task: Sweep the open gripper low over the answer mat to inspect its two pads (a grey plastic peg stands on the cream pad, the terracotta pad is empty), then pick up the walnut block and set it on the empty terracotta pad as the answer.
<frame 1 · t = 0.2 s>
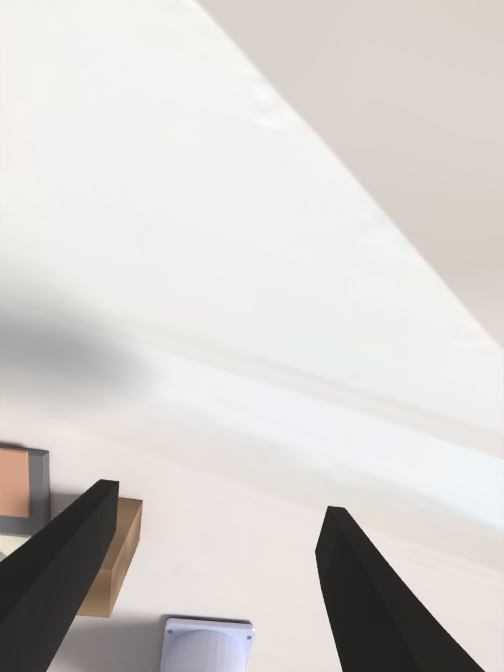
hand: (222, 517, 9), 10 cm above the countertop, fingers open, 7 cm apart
walnut block: (115, 517, 21), on the countertop
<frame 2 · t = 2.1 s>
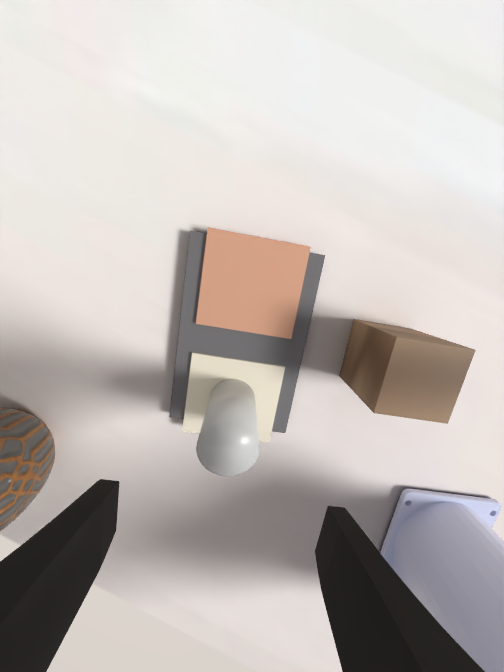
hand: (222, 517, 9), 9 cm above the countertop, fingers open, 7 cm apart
grey peg: (232, 400, 17), point 1 cm above the countertop, touching mat
walnut block: (374, 352, 18), on the countertop
mat: (242, 339, 17), on the countertop
vase: (25, 435, 19), on the countertop
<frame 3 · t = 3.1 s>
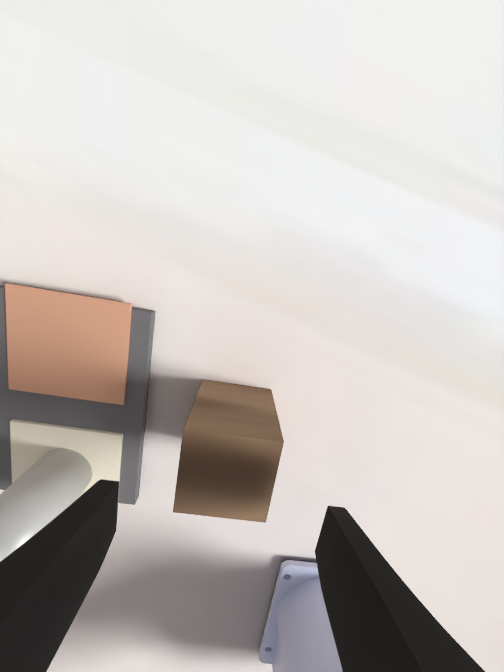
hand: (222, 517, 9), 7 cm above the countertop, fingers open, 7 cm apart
grey peg: (65, 471, 15), point 1 cm above the countertop, touching mat
walnut block: (232, 415, 16), on the countertop
mat: (75, 402, 15), on the countertop
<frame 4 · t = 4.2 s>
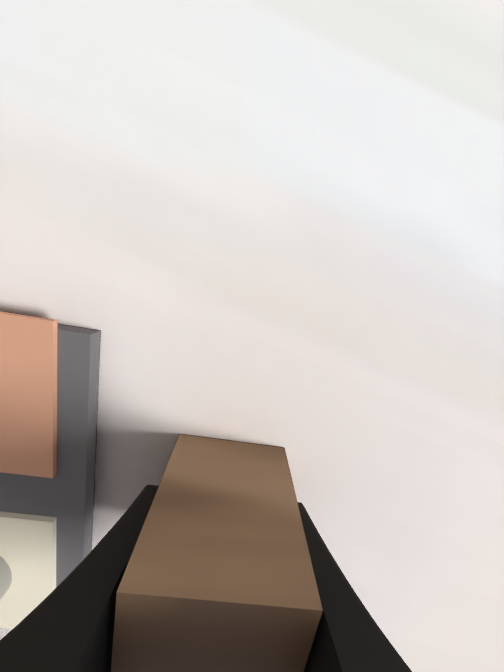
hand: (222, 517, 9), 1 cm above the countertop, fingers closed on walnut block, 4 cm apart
walnut block: (225, 485, 10), on the countertop, touching gripper
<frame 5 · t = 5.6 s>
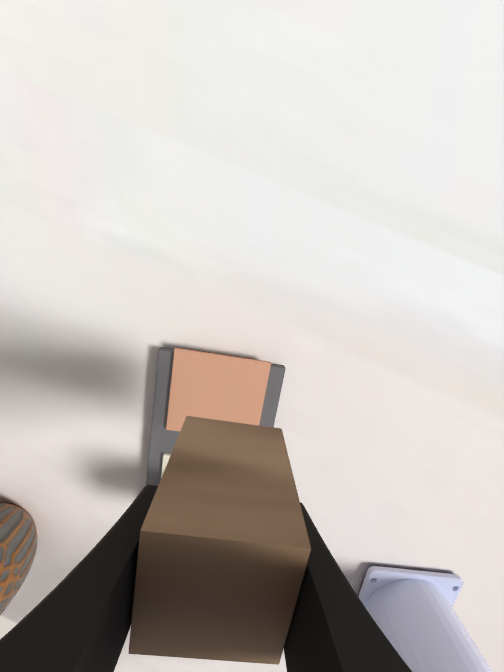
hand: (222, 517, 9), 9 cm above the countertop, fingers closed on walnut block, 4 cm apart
walnut block: (227, 463, 11), point 7 cm above the countertop, touching gripper
mat: (211, 437, 18), on the countertop
vase: (10, 522, 20), on the countertop
when the fingers open (4 cm above the countertop, at t = 7.1 s): walnut block stays where it is, resting on mat.
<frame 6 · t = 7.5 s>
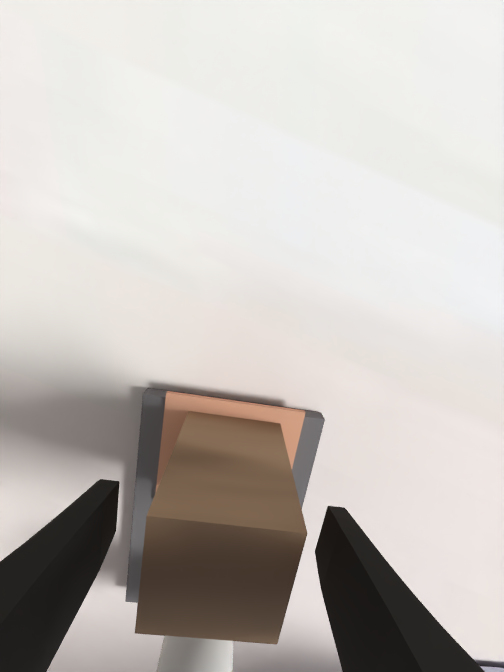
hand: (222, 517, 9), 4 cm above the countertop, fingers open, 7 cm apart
grey peg: (205, 584, 13), point 1 cm above the countertop, touching mat
walnut block: (228, 456, 12), point 1 cm above the countertop, touching mat
mat: (218, 507, 13), on the countertop
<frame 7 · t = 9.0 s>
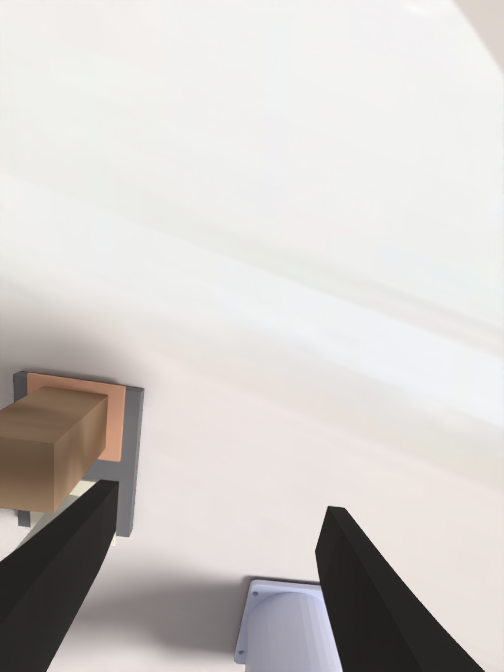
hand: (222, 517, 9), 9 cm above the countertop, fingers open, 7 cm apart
grey peg: (73, 512, 19), point 1 cm above the countertop, touching mat
walnut block: (75, 418, 17), point 1 cm above the countertop, touching mat
mat: (81, 457, 19), on the countertop
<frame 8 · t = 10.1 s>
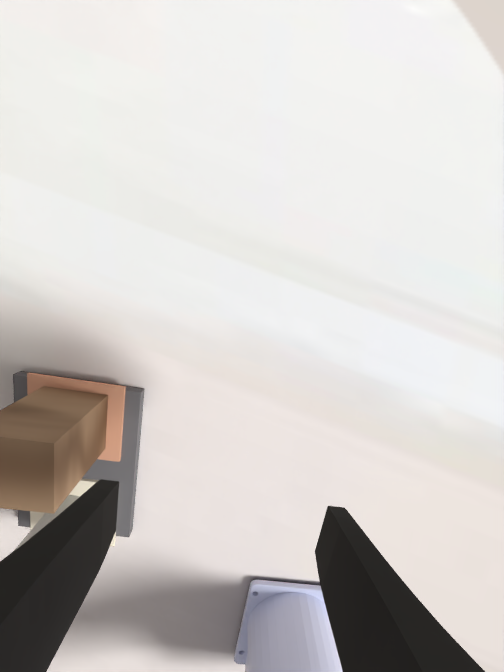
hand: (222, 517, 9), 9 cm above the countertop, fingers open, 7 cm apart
grey peg: (73, 512, 19), point 1 cm above the countertop, touching mat
walnut block: (75, 418, 17), point 1 cm above the countertop, touching mat
mat: (81, 457, 19), on the countertop
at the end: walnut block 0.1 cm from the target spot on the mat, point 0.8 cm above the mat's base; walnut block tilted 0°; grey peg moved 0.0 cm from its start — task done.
